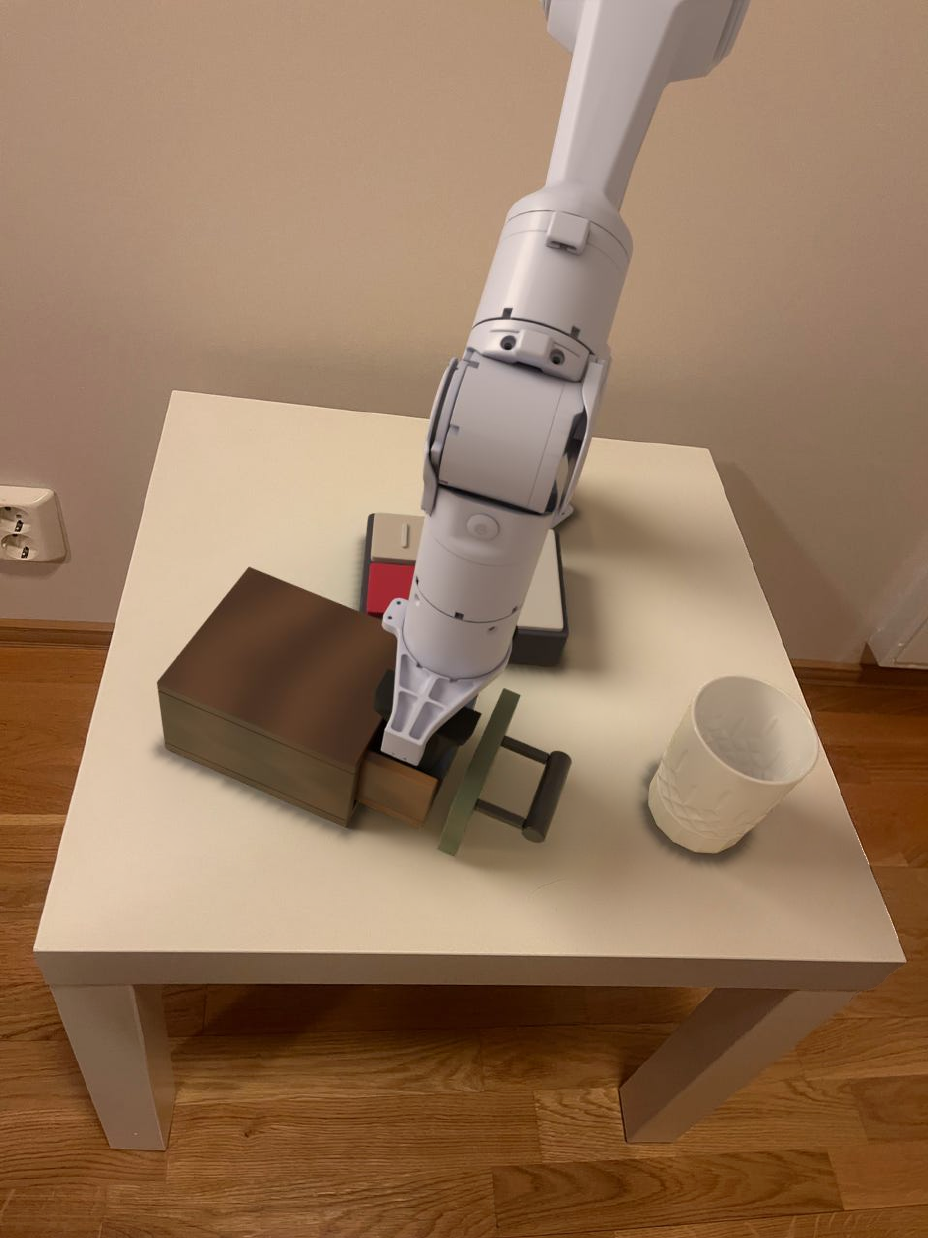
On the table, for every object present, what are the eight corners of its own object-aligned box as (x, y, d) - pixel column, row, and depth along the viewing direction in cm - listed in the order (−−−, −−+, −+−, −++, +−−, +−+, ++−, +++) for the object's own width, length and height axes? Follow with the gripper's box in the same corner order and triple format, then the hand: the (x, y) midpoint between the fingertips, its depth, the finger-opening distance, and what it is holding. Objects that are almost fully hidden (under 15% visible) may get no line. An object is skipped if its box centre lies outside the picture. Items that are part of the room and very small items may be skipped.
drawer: (566, 766, 61) (588, 722, 57) (524, 888, 55) (545, 847, 51) (348, 675, 62) (355, 626, 59) (283, 783, 56) (286, 736, 52)
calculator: (368, 504, 70) (561, 521, 71) (366, 543, 73) (550, 559, 74) (358, 614, 63) (572, 630, 64) (356, 652, 66) (559, 667, 67)
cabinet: (411, 702, 63) (426, 638, 58) (345, 827, 56) (355, 767, 51) (248, 634, 64) (248, 565, 59) (164, 748, 57) (156, 682, 52)
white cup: (752, 877, 59) (824, 800, 51) (634, 844, 59) (689, 763, 51) (750, 775, 64) (815, 692, 57) (642, 746, 64) (693, 659, 57)
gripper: (449, 468, 50) (415, 625, 60) (333, 649, 41) (317, 800, 51) (568, 514, 50) (514, 666, 60) (479, 710, 40) (433, 850, 50)
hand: (430, 731), depth 55 cm, fingers closed on block, 4 cm apart
